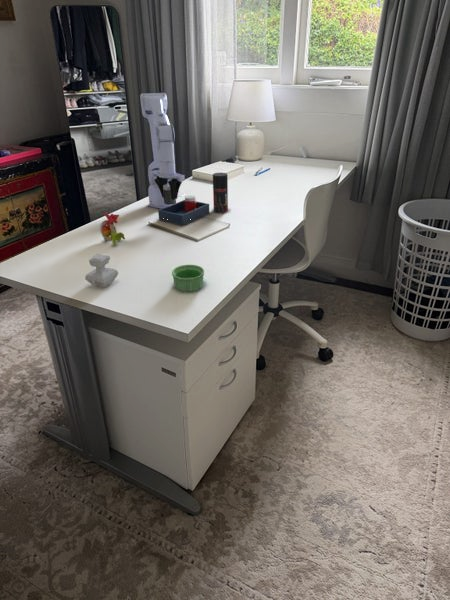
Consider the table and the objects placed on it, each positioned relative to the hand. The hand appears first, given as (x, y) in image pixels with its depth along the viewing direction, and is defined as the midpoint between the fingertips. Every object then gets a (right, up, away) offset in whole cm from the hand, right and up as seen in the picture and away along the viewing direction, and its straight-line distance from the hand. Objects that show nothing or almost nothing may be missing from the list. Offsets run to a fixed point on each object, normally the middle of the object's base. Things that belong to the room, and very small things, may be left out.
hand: (169, 197), depth 160 cm
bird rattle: (-19, -19, -12) cm, 29 cm away
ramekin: (+11, -35, -40) cm, 54 cm away
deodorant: (+19, -1, +17) cm, 26 cm away
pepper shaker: (0, -2, +1) cm, 2 cm away
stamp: (-14, -34, -39) cm, 54 cm away
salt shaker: (+7, -3, +14) cm, 15 cm away
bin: (+5, -5, +11) cm, 13 cm away
